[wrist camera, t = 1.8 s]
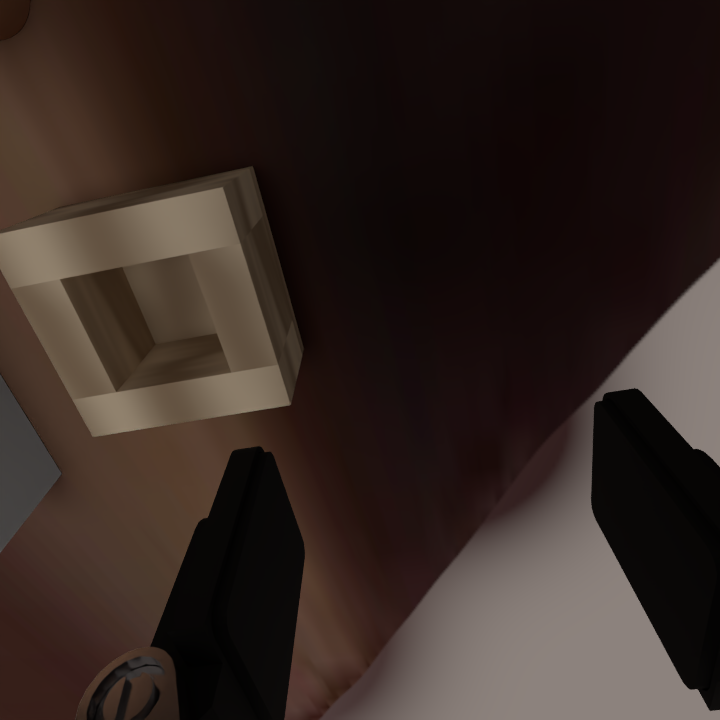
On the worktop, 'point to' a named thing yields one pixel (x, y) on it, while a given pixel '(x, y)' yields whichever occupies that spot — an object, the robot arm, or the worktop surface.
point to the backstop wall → (20, 466)
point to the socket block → (159, 302)
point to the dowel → (12, 16)
